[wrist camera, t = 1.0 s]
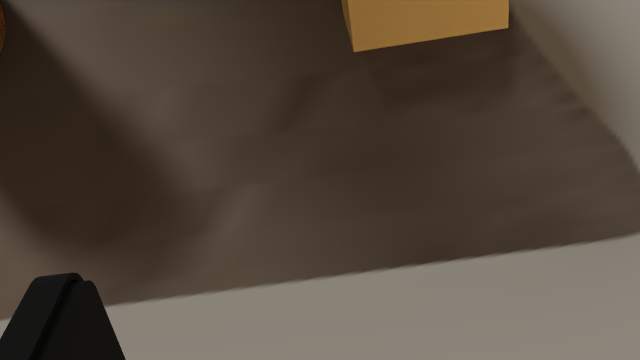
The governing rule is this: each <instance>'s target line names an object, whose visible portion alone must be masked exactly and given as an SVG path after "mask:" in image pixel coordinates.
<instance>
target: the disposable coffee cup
mask: <svg viewBox="0 0 640 360" xmlns="http://www.w3.org/2000/svg"><path fill="white" fill-rule="evenodd" d="M5 35H6V23H5V18H4V14H3V9H2V6H1V4H0V52H1V50H2V48H3V45H4V40H5Z"/></svg>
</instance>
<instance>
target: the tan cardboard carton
mask: <svg viewBox="0 0 640 360" xmlns="http://www.w3.org/2000/svg"><path fill="white" fill-rule="evenodd" d="M341 1H342V9H343V15H344V19H345V22H346V26H347V29H348V33H349V36H350V40H351V43H352V47H353V51H354V52H358V51H365V50H371V49H377V48H384V47H390V46H396V45H403V44H409V43H415V42H422V41H428V40H434V39H441V38H447V37H453V36H460V35H466V34H472V33H479V32H485V31H491V30H498V29H504V28H508V17H509V0H341Z"/></svg>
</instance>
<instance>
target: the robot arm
mask: <svg viewBox="0 0 640 360" xmlns="http://www.w3.org/2000/svg"><path fill="white" fill-rule="evenodd" d="M0 360H126V359H125V357H124V355H123V352H122V350H121V347H120V345H119V342H118V340H117V338H116V335H115V332H114V330H113V328H112V325H111V323H110V320H109V318H108V315H107V313H106V311H105V308H104V306H103V303H102V301H101V298H100V296H99V293H98V291H97V288H96V286H95V285H94V283H93V282H92V281H83V279H82V277H81V276H80V275H79V274H78V273H66V274H57V275H49V276H41V277H37V278H35V279H34V280H33V281H32V283H31V284H30V286H29V288H28V289H27V291H26V293H25V295H24V297H23V299H22V300H21V302H20V304H19V306H18V308H17V309H16V311H15V313H14V315H13V317H12V319H11V320H10V322H9V324H8V326H7V328H6V330H5V331H4V333H3V335H2V337H1V339H0Z"/></svg>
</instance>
